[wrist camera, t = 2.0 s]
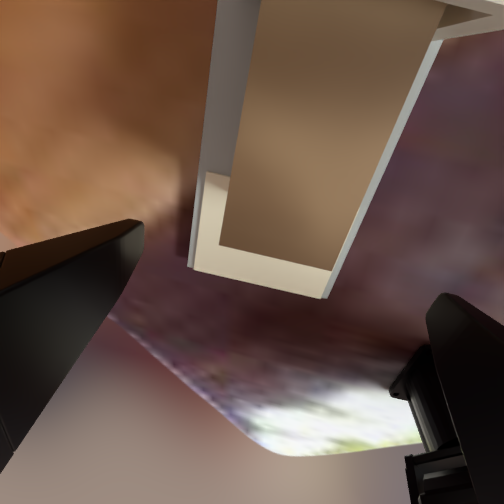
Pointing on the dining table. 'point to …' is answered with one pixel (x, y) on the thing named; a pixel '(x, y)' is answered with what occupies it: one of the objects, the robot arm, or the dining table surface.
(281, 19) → the walnut block
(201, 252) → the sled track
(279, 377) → the dining table surface
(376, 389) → the dining table surface
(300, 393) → the dining table surface
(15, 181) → the dining table surface
